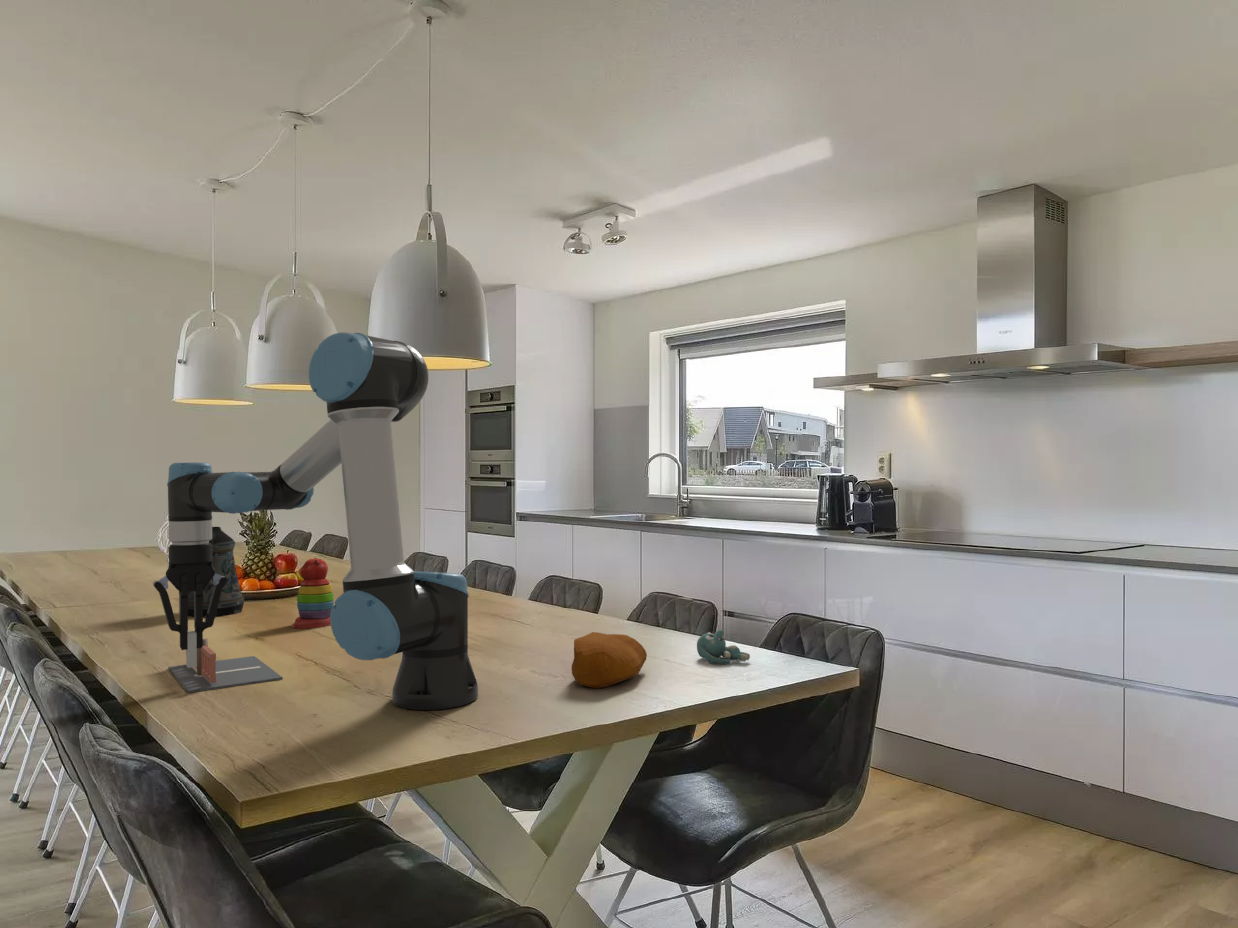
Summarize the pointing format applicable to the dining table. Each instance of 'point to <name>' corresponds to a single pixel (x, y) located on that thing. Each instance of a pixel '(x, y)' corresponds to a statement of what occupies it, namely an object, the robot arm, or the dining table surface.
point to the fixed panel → (200, 658)
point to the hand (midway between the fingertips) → (191, 665)
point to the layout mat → (226, 674)
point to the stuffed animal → (718, 649)
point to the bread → (606, 659)
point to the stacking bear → (314, 596)
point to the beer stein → (223, 566)
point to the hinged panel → (208, 664)
